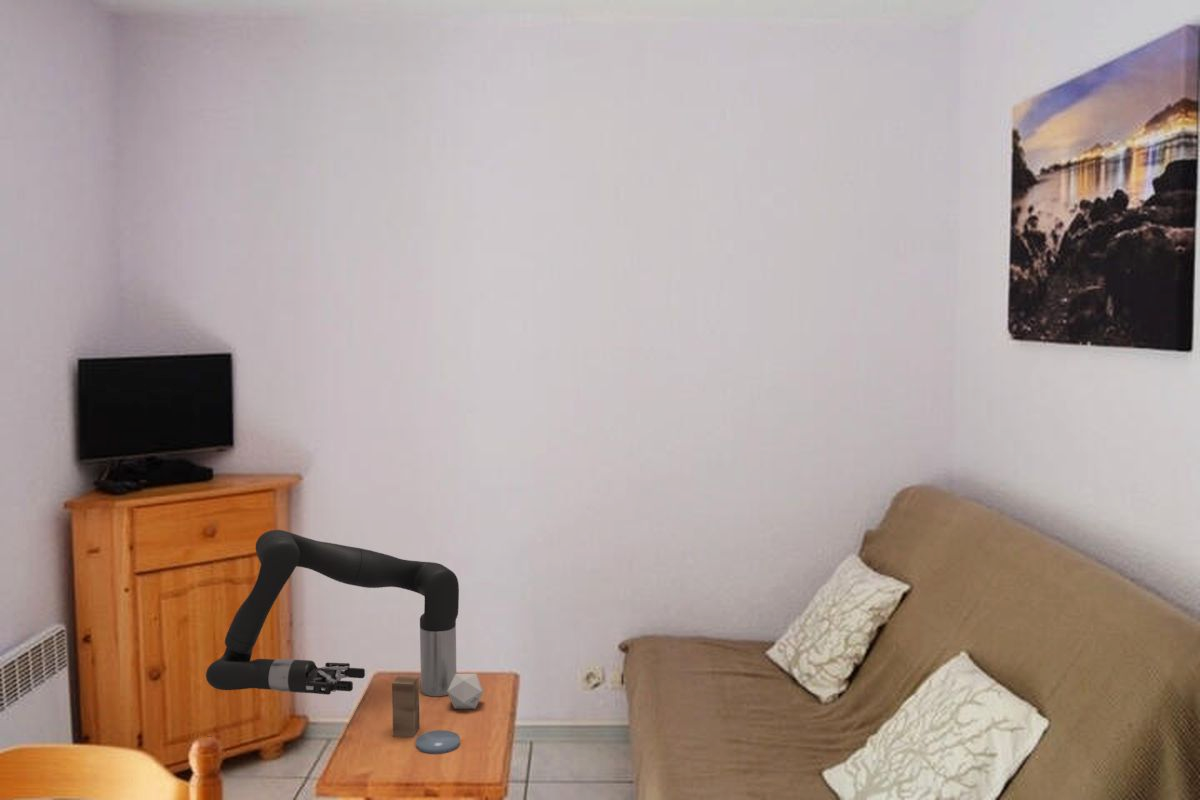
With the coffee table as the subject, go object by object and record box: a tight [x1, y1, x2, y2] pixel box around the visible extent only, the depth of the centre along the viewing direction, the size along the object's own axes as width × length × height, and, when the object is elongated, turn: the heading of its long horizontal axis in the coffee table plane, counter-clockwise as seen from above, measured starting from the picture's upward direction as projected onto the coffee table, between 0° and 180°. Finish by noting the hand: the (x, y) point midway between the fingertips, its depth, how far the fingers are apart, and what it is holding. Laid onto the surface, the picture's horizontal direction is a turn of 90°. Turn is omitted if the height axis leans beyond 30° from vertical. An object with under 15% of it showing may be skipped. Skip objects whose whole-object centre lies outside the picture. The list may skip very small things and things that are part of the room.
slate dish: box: [415, 729, 461, 755], centre depth 253 cm, size 10×10×1 cm
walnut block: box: [391, 674, 421, 738], centre depth 258 cm, size 5×5×13 cm
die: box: [447, 673, 484, 710], centre depth 274 cm, size 8×9×10 cm
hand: (358, 679), depth 259 cm, fingers open, 8 cm apart
